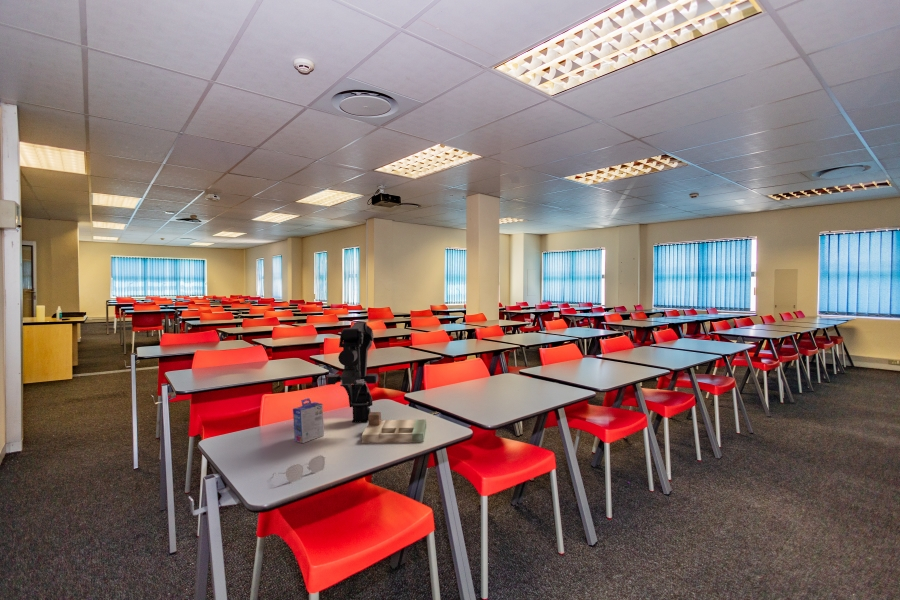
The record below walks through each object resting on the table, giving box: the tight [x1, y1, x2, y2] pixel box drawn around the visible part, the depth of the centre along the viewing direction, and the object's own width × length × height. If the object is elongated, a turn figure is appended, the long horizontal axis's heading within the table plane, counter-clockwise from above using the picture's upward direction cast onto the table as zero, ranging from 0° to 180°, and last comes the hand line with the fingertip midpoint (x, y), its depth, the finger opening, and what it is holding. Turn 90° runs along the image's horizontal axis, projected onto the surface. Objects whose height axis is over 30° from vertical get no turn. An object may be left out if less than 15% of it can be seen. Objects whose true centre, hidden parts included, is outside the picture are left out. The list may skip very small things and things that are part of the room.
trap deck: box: [361, 419, 427, 444], centre depth 159 cm, size 22×16×3 cm
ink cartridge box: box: [292, 398, 325, 444], centre depth 157 cm, size 10×6×14 cm, turn 145°
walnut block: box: [368, 411, 382, 426], centre depth 163 cm, size 4×4×4 cm
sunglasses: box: [272, 454, 326, 484], centre depth 128 cm, size 14×8×5 cm, turn 141°
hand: (353, 401), depth 163 cm, fingers closed
